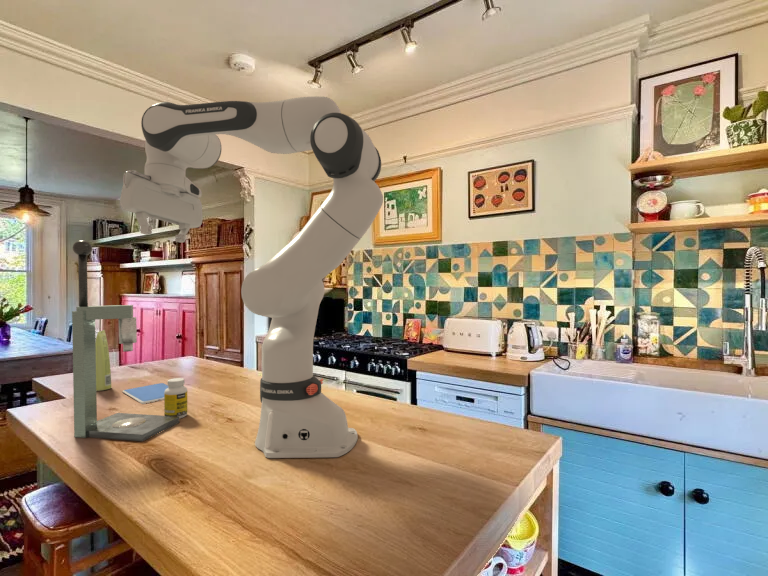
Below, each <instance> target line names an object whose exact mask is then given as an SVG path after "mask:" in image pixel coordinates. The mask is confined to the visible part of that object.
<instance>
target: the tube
mask: <svg viewBox="0 0 768 576" xmlns="http://www.w3.org/2000/svg"><path fill="white" fill-rule="evenodd" d="M95 343H96V392H100V391H107V390H110V389H111V388H112V374H111V373H112V371H111V363H110V362H111V360H110V351H109V344H108V338H107V334H106V329H102V330H100V331H97V334H96V336H95Z"/></svg>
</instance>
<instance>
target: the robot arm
mask: <svg viewBox="0 0 768 576" xmlns="http://www.w3.org/2000/svg"><path fill="white" fill-rule="evenodd" d="M140 123H141V130H142V134H143V138H145V142H144V143H145V144H144V150H145V151H144V152H145V154H146V160H145V161H146V162H145V164H144V173H141V172H138V171H137V170H134V169H130V170H127V171H125V172H124V173H123V185H122V187H121V192H120V199H119V205H120V208H121V209H122V210H123V211H126V212H129V213H134V214H135V219H136V221H137V222H138V224H139V226H140V233H141V234H142V235H146V236H148V235H151V234H153V231H152V230H153V226H150V225H149V223H148V219H149V218H151V219H155V220H157V221H158V220H159V221H163V222H166V223H170V224H173V225H177V226H178V230H180V231H179V232H178V234H175V242H176V243H182V244H183V243H185V242H186V235H187V234H188V233H189V231H190V229H196V228H200V227H201V225H202V224H203V205H202V201H201V199H200V198H202V196H203V192H202V189H200V188H199V187H198V186H197V185H195V183H194V182H192V181H191V180H190V179H189V178H188V177H187V176H186V173H187V172H186V171H187V169H188V168H190V169H196V170H197V169H198V170H199V169H200V170H201V169H203V170H205V169H209V168H212V167H213V166H215V165H216V164H217V162H219V159H220V157H221V154H222V143H221V139H220V138H219V136H218V135H227V136H232V137H235V138H238V139H241V140H243V141H246V142H248V143H250V144H252V145H254V146H257V147H258V148H260V149H262V150H264V151H266V152H268V153H270V154H278V155H279V154H283V155H291V154H296V153H302V152H306V151H313V154H314V156H315V158H316V159H317V161H318V163H319V165H320V166H321V168H322V169H323V170H324V172H325V174H326V175H327V177H329V178H330V179H332V180H333V186H332V188H331V190H330V192H329V194H328V195H327V196H326V198H325V199H324V200H323V202H322V203H321V204H320V205H319V207H318V208H317V209H316V210H315V212H314V213H313V215H312V216H311V217H310V218H309V219H308V221H307V222H306V224H305V225H304V226H303V228H302V229H301V230H300V231H299V232H298V233H297V235H295V237H294V238H292V240H290V241H289V242H288V243H287V244H286V245H284V246H283V248H281V249H280V250H279V251H277V252H276V253H275V254H274V255H273V256H272V257H271V258H270V259H269V260H268V261H266V262H265V263H264V264H262V265H260V266H259V267H257V268H255V269H253V270H252V271H250V272H248V274H247V275H246V276H245V277H244V279H243V281H242V283H241V291H240V293H241V294H240V295H241V299H242V302H243V304H244V306H245V307H246V308H247V310H248V311H250V312H251V313H253V314H254V315H257V316H262V317H266V318H271V321H270V325H269V329H268V331H267V333H266V336H265V337H264V339H263V341H262V344H261V375H262V376H261V378H260V380H259V381H260V385H259V386H260V387H259V398H260V403H261V406H260V407H261V408H260V419H259V425H258V428H257V429H258V430H257V434H256V438H255V441H254V446H255V447H256V448H257V449H258V450H261V452H263V454H264V456H265V458H266V459H267V458H268V459H291V458H292V459H293V458H294V459H296V458H297V459H299V458H303V459H306V458H310V459H311V458H339V457H341V456H343V455H344V456H345V455H346V454H347V453H348V452H350V451H351V450H352V449H353V448H354V447H355V446H356V444H357V442H358V431H357V430H356V429H355V428H353V427H349V425H348V418H347V415H346V412H345V410H344V409H343V408H342V407H341V406H340V405H338V404H337V403H335V401H333V400H331V399H330V398H329V397H328V396H326V395H325V394H324V393H322V384H324V378H321V379H319V378H317V377H316V376H315V375H314V337H315V332H316V325H317V319H318V316H319V309H320V304H321V302H322V300H323V299H324V296H325V284H324V282H323V279H324V278H326V277H327V276H328V275H329V274H330V273H332V272H333V271H334V270H336V269H337V268H338V267H339V266H340V265H341V264H342V263H343V261H345V259H346V257H348V255H349V254H350V253H351V251H352V250H353V249H354V248H355V247H356V245H357V244H358V243H359V242H360V241H361V239H362V238H363V236H364V235H366V233H367V231H368V229H369V228H370V227H371V225H372V224H373V222H374V221H375V219H376V217H377V215H378V214H379V212H380V210H381V208H382V206H383V203H384V196H383V192H382V190H381V188H380V187H379V185H378V184H377V182H376V180H377V179H378V177H379V176H380V173H381V171H382V158H381V156H380V155H381V154H380V152H379V150H378V148H377V147H376V146H375V145H374V143H373V140H372V139H371V137H370V136H369V134H368V133H367V132H366V131H365V130H364V129H363V128H362V127H361V126H360V124H359V123H358V122H357V121H356V120H355V119H354V118H353V117H351V116H349V115H347V114H345V113H342V112H341V109H340V108H339V105H337V103H336V102H335V101H334V100H333V99H332V98H330V97H328V96H317V95H316V96H303V97H302V96H301V97H294V98H288V99H283V100H277V101H261V102H260V101H259V102H258V101H257V102H256V101H243V100H242V101H241V100H226V101H224V100H223V101H216V102H215V101H214V102H204V103H203V102H202V103H194V104H193V103H192V104H177V103H173V102H169V101H162V102H157V103H155V104H152V105H151V106H149V107H148V108H147V109H146V110H145V111H144V112H143V114H142V117H141V122H140Z"/></svg>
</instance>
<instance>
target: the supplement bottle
mask: <svg viewBox="0 0 768 576" xmlns="http://www.w3.org/2000/svg"><path fill="white" fill-rule="evenodd" d="M166 383H167V384H166V385H168V388H167V389H166V390H165V392H164V400H163V401H164V404H163V405H164V407H163V408H164V412H163V413H164V415H163V416H176V417H179V419H182V418H185V417H187V415H188V388H187V386H184V385H185V378H183V377H175V378H170V379H168V380H167V382H166Z"/></svg>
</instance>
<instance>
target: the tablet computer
mask: <svg viewBox="0 0 768 576" xmlns="http://www.w3.org/2000/svg"><path fill="white" fill-rule="evenodd" d="M167 388H168V385H167V384H166V383H165V382H164V383H163V382H160V383H154V384H149V385H143V386H139V387H133V388H128V389H124V390H122V393H123V394H124V395H127V396H128V397H130V398H132V399H133V400H134V401H136V402H139V404H141V405H147V404H151V403H156V402H155V401H157V402H160V401H159V400H161V401H164V392H165V390H166V389H167ZM150 402H151V403H150ZM146 403H147V404H146Z"/></svg>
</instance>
